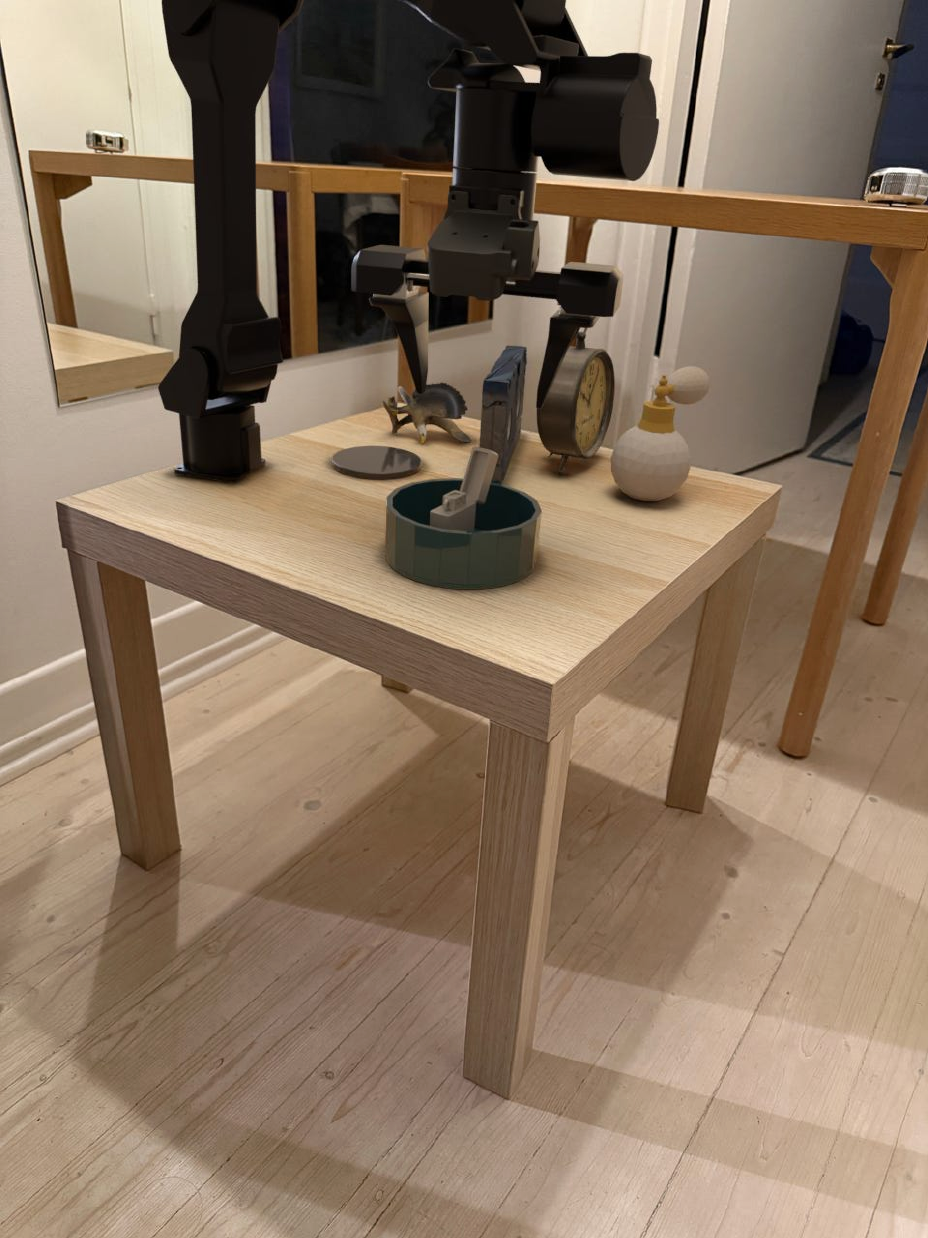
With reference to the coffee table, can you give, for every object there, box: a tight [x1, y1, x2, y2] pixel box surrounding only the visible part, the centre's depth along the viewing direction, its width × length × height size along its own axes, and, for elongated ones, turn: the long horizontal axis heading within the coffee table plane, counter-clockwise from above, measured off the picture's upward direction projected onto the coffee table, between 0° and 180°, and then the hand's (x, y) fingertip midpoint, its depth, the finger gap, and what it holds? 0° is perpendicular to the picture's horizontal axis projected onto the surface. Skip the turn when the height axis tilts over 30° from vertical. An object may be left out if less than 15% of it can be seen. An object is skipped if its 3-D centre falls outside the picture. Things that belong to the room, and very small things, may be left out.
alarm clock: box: [536, 328, 616, 476], centre depth 92 cm, size 11×5×16 cm, turn 151°
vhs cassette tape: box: [478, 345, 528, 484], centre depth 94 cm, size 18×3×10 cm, turn 169°
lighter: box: [430, 445, 498, 532], centre depth 70 cm, size 7×2×8 cm, turn 148°
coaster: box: [331, 445, 422, 480], centre depth 92 cm, size 9×9×1 cm
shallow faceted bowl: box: [384, 477, 543, 590], centre depth 71 cm, size 12×12×4 cm
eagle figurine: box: [382, 382, 473, 445], centre depth 100 cm, size 8×7×9 cm
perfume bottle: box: [610, 365, 710, 502], centre depth 86 cm, size 8×10×12 cm
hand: (479, 400), depth 69 cm, fingers open, 9 cm apart
